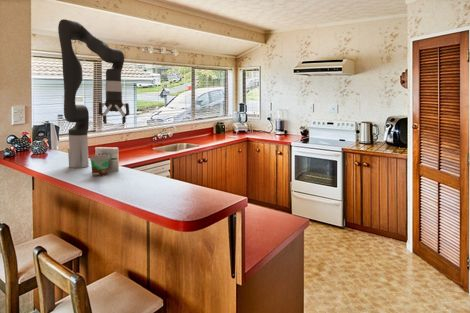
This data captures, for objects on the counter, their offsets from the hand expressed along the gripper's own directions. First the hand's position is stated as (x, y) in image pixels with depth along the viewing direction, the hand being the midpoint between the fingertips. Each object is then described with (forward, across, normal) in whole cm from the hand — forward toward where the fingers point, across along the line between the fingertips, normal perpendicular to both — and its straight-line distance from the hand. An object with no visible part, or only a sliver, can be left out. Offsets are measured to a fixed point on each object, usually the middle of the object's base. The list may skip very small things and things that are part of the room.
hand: (114, 123), depth 177 cm
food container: (+25, +5, +4) cm, 26 cm away
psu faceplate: (+25, +5, -4) cm, 26 cm away
